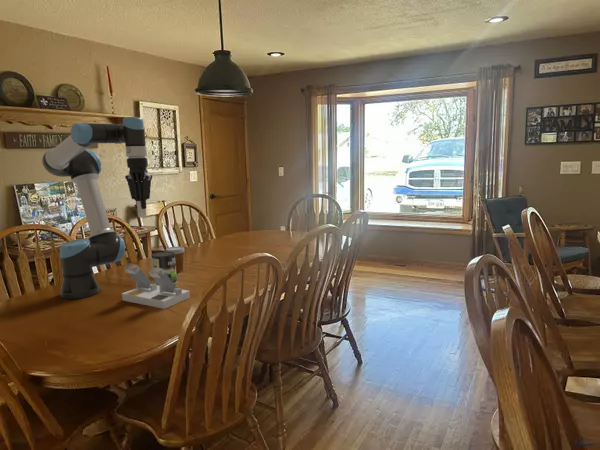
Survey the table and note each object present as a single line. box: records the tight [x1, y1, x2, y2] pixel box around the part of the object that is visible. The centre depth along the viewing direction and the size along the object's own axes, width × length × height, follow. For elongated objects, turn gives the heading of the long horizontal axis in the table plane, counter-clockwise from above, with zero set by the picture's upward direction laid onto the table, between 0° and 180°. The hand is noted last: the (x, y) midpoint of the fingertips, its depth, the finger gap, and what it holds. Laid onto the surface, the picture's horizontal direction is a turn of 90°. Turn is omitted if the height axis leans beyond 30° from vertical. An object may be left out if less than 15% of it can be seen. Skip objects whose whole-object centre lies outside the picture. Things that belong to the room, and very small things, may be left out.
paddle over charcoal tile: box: [148, 266, 178, 293], centre depth 173 cm, size 7×3×13 cm
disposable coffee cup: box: [164, 245, 185, 274], centre depth 220 cm, size 10×10×12 cm
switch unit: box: [121, 282, 191, 310], centre depth 179 cm, size 24×14×5 cm, turn 61°
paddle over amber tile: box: [124, 263, 154, 289], centre depth 180 cm, size 7×3×13 cm
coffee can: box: [151, 251, 178, 286], centre depth 200 cm, size 10×10×14 cm
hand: (142, 216), depth 174 cm, fingers closed
